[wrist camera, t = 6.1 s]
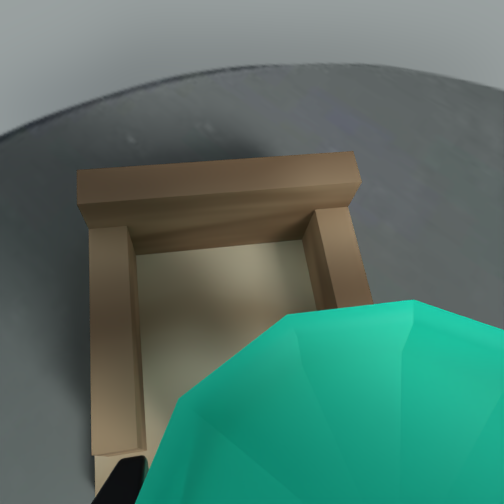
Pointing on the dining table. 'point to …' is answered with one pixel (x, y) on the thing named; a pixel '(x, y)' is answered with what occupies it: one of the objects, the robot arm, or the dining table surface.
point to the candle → (344, 414)
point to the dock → (203, 276)
